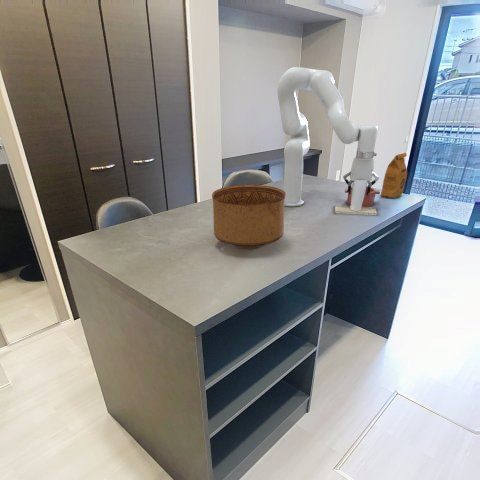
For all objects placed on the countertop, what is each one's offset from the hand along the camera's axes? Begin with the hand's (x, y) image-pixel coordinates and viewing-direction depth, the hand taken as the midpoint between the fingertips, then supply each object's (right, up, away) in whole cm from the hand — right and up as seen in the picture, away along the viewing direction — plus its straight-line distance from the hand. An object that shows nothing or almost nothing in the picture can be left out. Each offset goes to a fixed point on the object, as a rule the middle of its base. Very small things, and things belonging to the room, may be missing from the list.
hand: (358, 194), depth 173 cm
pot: (-55, -31, -30) cm, 70 cm away
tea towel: (0, -7, +5) cm, 8 cm away
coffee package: (+28, +8, +26) cm, 39 cm away
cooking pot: (+6, +1, +16) cm, 17 cm away
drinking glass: (0, -7, +4) cm, 8 cm away
